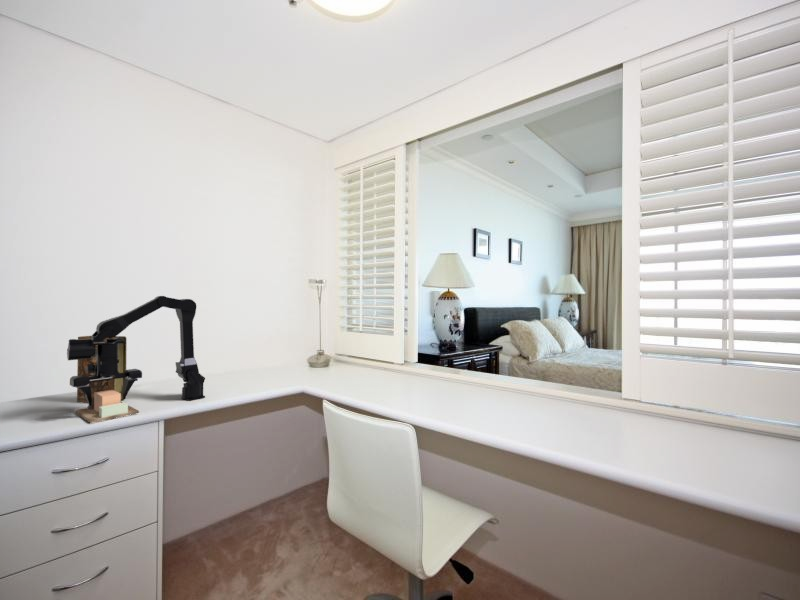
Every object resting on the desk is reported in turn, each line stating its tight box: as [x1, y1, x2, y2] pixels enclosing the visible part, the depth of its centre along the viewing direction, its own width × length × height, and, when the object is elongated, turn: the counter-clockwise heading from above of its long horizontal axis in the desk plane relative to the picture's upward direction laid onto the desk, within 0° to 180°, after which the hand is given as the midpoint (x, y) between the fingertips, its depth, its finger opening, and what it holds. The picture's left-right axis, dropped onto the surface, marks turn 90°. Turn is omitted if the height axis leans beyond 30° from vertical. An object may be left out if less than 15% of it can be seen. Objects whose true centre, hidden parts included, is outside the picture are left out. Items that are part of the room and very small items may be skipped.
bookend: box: [86, 397, 94, 409], centre depth 128 cm, size 7×2×4 cm, turn 143°
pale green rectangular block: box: [99, 401, 129, 418], centre depth 119 cm, size 7×3×3 cm, turn 143°
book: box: [76, 335, 127, 404], centre depth 138 cm, size 16×6×25 cm, turn 84°
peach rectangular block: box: [94, 390, 122, 412], centre depth 124 cm, size 5×9×6 cm, turn 53°
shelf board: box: [75, 401, 140, 424], centre depth 124 cm, size 13×18×1 cm
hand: (107, 402), depth 124 cm, fingers open, 9 cm apart
